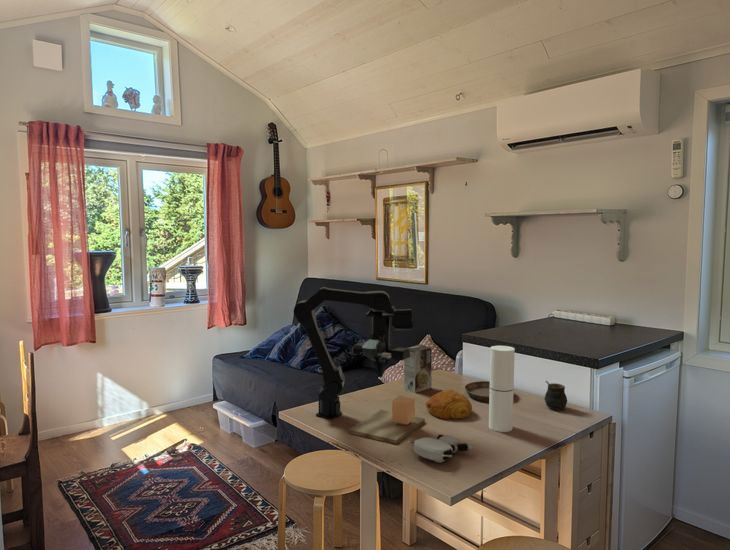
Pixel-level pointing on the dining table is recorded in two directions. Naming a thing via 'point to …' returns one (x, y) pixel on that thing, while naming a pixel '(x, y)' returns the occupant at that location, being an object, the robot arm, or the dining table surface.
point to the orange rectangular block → (403, 409)
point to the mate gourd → (556, 396)
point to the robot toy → (439, 447)
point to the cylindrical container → (501, 388)
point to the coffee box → (418, 369)
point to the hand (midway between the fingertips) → (380, 377)
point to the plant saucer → (479, 390)
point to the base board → (385, 427)
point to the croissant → (449, 405)
